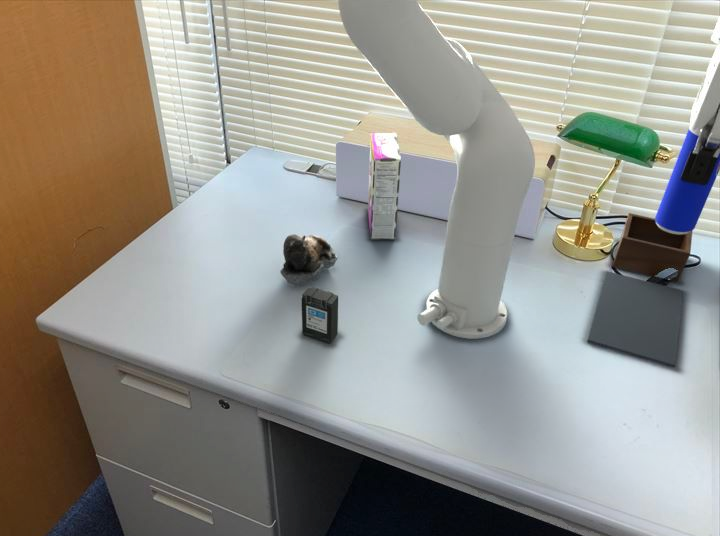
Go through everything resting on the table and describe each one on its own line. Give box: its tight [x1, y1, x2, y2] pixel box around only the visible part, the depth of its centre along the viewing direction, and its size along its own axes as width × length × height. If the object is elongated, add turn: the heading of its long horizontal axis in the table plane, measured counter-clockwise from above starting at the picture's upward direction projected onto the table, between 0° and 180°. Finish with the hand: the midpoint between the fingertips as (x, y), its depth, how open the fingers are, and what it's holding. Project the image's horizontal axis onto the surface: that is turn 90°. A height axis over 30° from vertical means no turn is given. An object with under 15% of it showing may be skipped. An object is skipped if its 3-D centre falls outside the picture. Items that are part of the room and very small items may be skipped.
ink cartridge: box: [300, 286, 339, 345], centre depth 93 cm, size 5×2×8 cm, turn 63°
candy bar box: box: [367, 132, 402, 241], centre depth 116 cm, size 11×5×16 cm, turn 179°
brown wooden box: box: [612, 212, 694, 284], centre depth 109 cm, size 9×10×6 cm
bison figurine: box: [279, 233, 339, 287], centre depth 105 cm, size 12×7×10 cm, turn 151°
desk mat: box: [586, 270, 684, 368], centre depth 99 cm, size 20×12×1 cm, turn 153°
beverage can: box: [654, 124, 720, 234], centre depth 84 cm, size 5×5×15 cm
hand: (694, 171), depth 84 cm, fingers closed on beverage can, 5 cm apart
